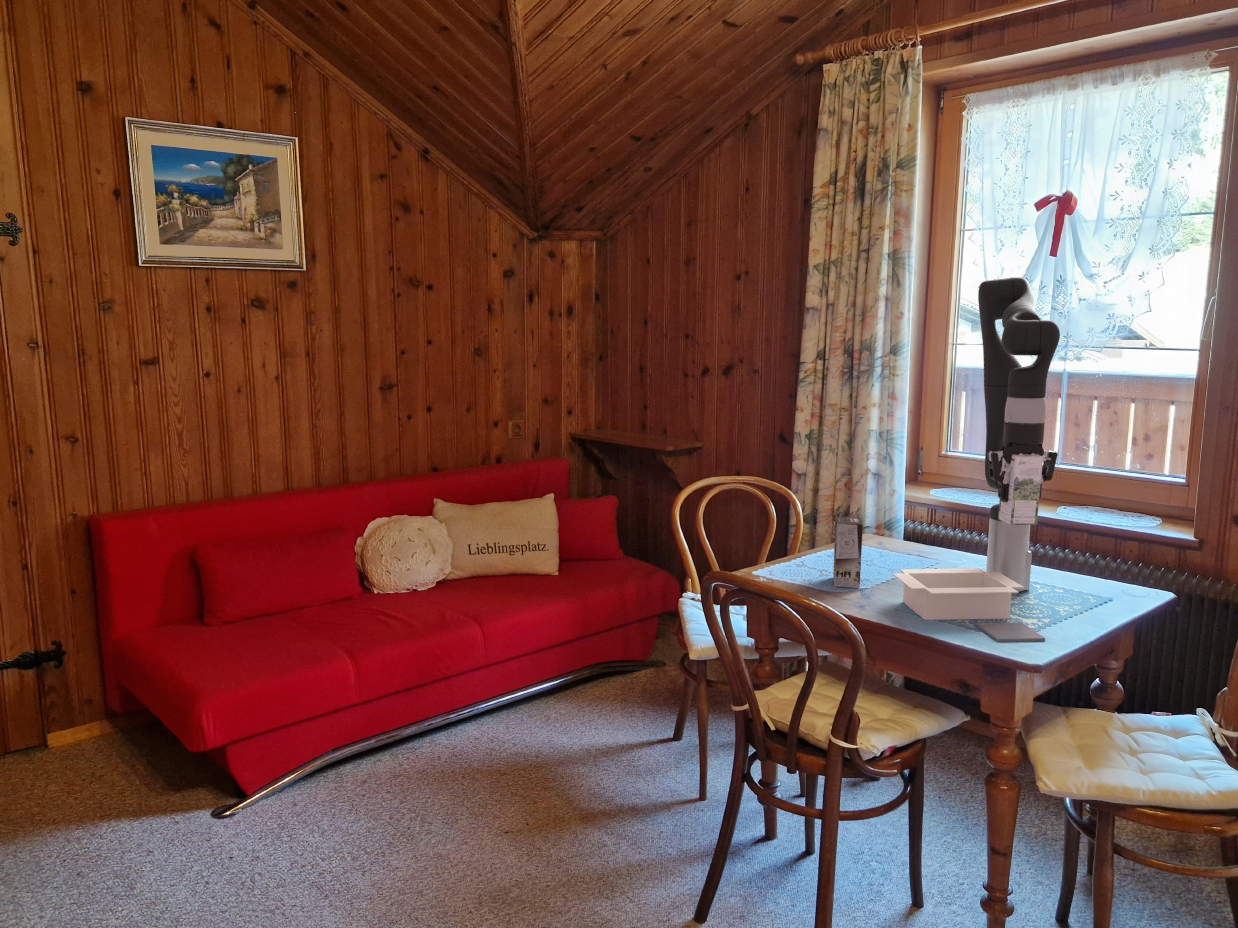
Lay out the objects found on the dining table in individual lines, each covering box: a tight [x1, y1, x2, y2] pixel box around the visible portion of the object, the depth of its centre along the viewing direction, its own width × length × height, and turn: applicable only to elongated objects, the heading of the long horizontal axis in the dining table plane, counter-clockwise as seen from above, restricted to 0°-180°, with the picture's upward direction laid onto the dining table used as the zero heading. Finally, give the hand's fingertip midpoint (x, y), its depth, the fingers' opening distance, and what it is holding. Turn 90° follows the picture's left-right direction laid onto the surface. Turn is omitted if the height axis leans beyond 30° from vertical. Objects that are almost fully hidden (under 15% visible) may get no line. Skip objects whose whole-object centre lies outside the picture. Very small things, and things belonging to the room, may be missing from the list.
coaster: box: [975, 621, 1046, 643], centre depth 192 cm, size 10×10×1 cm
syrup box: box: [998, 454, 1044, 526], centre depth 188 cm, size 6×6×14 cm
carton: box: [892, 567, 1024, 621], centre depth 207 cm, size 25×19×7 cm
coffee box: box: [833, 516, 864, 589], centre depth 228 cm, size 9×6×16 cm
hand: (1018, 500), depth 188 cm, fingers closed on syrup box, 5 cm apart
